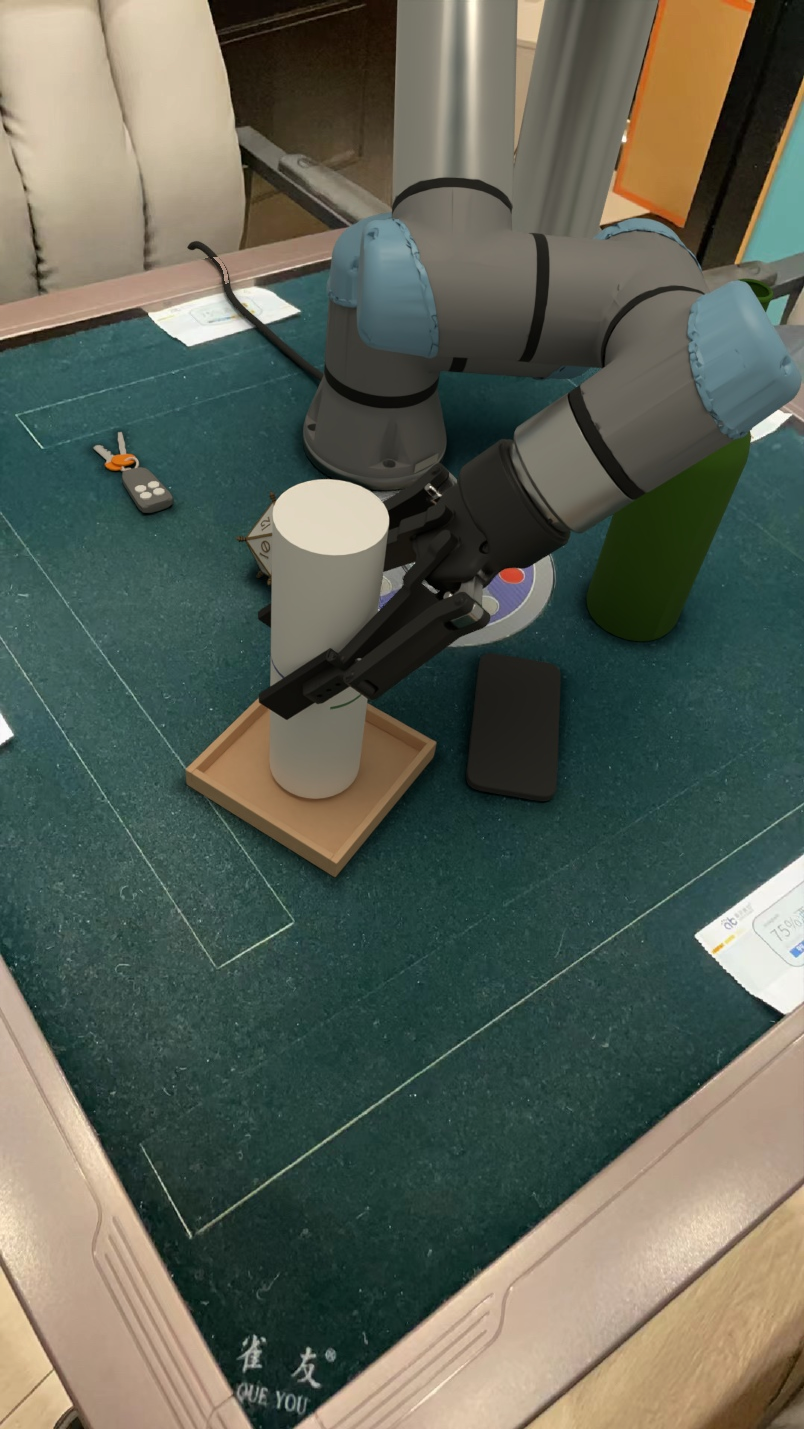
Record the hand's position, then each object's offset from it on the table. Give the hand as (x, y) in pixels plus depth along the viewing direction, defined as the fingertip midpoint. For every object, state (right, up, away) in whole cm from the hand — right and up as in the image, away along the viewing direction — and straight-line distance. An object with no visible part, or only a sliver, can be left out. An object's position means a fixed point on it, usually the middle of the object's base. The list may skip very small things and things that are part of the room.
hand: (272, 664), depth 74 cm
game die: (-1, +9, +24) cm, 26 cm away
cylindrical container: (+2, -7, +9) cm, 12 cm away
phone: (+19, -5, +15) cm, 25 cm away
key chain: (-18, +20, +31) cm, 41 cm away
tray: (+2, -8, +10) cm, 13 cm away
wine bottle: (+31, +7, +27) cm, 41 cm away
